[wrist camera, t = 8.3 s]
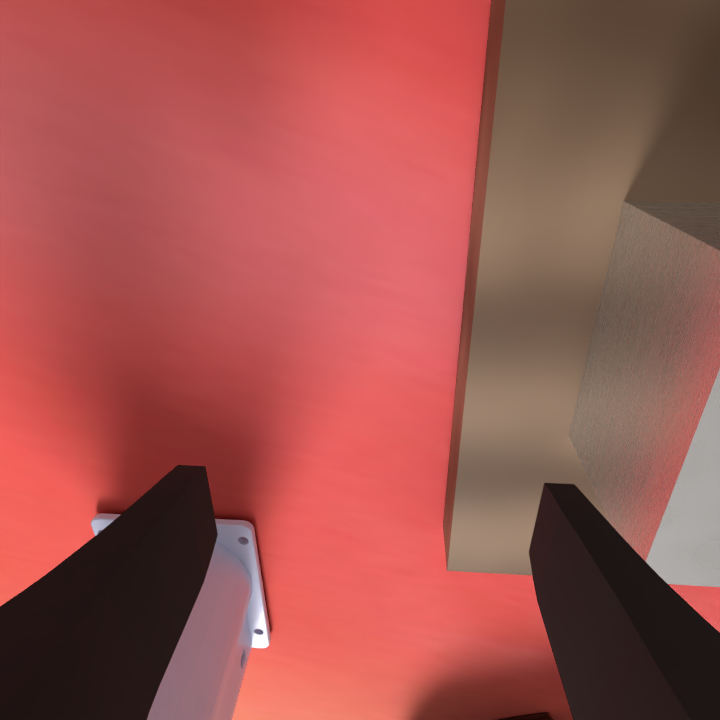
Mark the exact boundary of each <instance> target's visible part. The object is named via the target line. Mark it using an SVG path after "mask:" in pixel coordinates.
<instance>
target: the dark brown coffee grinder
mask: <svg viewBox="0 0 720 720" xmlns="http://www.w3.org/2000/svg"><path fill="white" fill-rule="evenodd" d="M502 720H553V719H552V717H551V716H550V715H549V713H543V714H535V715H527V716H519V717H513V718H507V719H502Z"/></svg>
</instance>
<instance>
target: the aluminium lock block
mask: <svg viewBox="0 0 720 720" xmlns="http://www.w3.org/2000/svg"><path fill="white" fill-rule="evenodd" d="M568 436H569V438H570V440H571V442H572V444H573V447H574V449H575V451H576V453H577V455H578V457H579V459H580V461H581V463H582V465H583V468H584V470H585V472H586V474H587V476H588V478H589V480H590V482H591V484H592V487H593V489H594V491H595V493H596V495H597V497H598V499H599V501H600V503H601V506H602V508H603V510H604V512H605V514H606V516H607V518H608V520H609V522H610V524H611V525H612V526H613V527H614V528H615V530H616V531H617V532H618V533H619V534H620V535H621V536H622V537H623V538H624V539H625V541H626V542H627V543H628V544H629V545H630V546H631V547H632V548H633V549H634V550H635V551H636V552H637V553H638V554H639V555H640V556H641V557H642V558H643V559H644V561H645V562H646V563H647V564H648V565H649V566H650V567H651V568H652V569H653V570H654V571H655V572H656V573H657V574H658V575H659V576H660V577H661V578H662V579H663V580H664V581H665V582H666V583H667V584H678V585H694V586H711V587H720V202H662V201H624V202H623V207H622V211H621V215H620V219H619V224H618V228H617V232H616V236H615V240H614V245H613V249H612V253H611V257H610V261H609V266H608V270H607V274H606V278H605V283H604V287H603V291H602V295H601V299H600V304H599V308H598V312H597V316H596V320H595V325H594V329H593V333H592V337H591V342H590V346H589V350H588V354H587V358H586V363H585V367H584V371H583V375H582V379H581V384H580V388H579V392H578V396H577V400H576V405H575V409H574V413H573V417H572V422H571V426H570V430H569V434H568Z"/></svg>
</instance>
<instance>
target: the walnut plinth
mask: <svg viewBox="0 0 720 720" xmlns="http://www.w3.org/2000/svg"><path fill="white" fill-rule="evenodd" d="M624 201H662V202H720V0H491V8H490V19H489V30H488V41H487V51H486V62H485V73H484V84H483V95H482V106H481V117H480V128H479V139H478V150H477V161H476V172H475V183H474V193H473V204H472V215H471V226H470V237H469V248H468V259H467V270H466V281H465V292H464V303H463V314H462V325H461V336H460V346H459V357H458V368H457V379H456V390H455V401H454V412H453V423H452V434H451V445H450V456H449V467H448V478H447V488H446V499H445V510H444V521H443V530H444V541H445V552H446V563H447V571H462V572H481V573H499V574H517V575H532V569H531V563H530V557H529V548H530V544H531V539H532V535H533V530H534V526H535V521H536V517H537V513H538V508H539V504H540V499H541V495H542V490H543V486H544V483H562V484H575V485H576V486H577V488H578V489H579V490H580V491H581V492H582V493H583V494H584V495H585V496H586V497H587V499H588V500H589V501H590V502H591V503H592V504H593V505H594V506H595V507H596V509H597V510H598V511H599V512H600V513H601V514H602V515H603V516H604V517H605V519H606V520H607V521H608V522H609V520H608V518H607V516H606V514H605V512H604V510H603V508H602V506H601V503H600V501H599V499H598V497H597V495H596V493H595V491H594V489H593V487H592V484H591V482H590V480H589V478H588V476H587V474H586V472H585V470H584V468H583V465H582V463H581V461H580V459H579V457H578V455H577V453H576V451H575V449H574V447H573V444H572V442H571V440H570V438H569V436H568V434H569V430H570V426H571V422H572V417H573V413H574V409H575V405H576V400H577V396H578V392H579V388H580V384H581V379H582V375H583V371H584V367H585V363H586V358H587V354H588V350H589V346H590V342H591V337H592V333H593V329H594V325H595V320H596V316H597V312H598V308H599V304H600V299H601V295H602V291H603V287H604V283H605V278H606V274H607V270H608V266H609V261H610V257H611V253H612V249H613V245H614V240H615V236H616V232H617V228H618V224H619V219H620V215H621V211H622V207H623V202H624ZM609 523H610V522H609Z"/></svg>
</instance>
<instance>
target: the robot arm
mask: <svg viewBox="0 0 720 720" xmlns="http://www.w3.org/2000/svg"><path fill="white" fill-rule="evenodd" d="M91 526H92V528H93V531H94V534H95V537H94V538H92V539H91V540H90V541H89V542H87V543H86V544H85V545H83V546H82V547H81V548H80V549H78V550H77V551H76V552H74V553H73V554H72V555H71V556H69V557H68V558H67V559H66V560H64V561H63V562H62V563H60V564H59V565H58V566H57V567H55V568H54V569H53V570H52V571H50V572H49V573H47V574H46V575H45V576H43V577H42V578H41V579H39V580H38V581H37V582H35V583H34V584H32V585H31V586H29V587H28V588H27V589H25V590H24V591H22V592H21V593H19V594H18V595H17V596H15V597H14V598H12V599H11V600H9V601H8V602H6V603H5V604H3V605H2V606H0V720H232V717H233V713H234V709H235V706H236V702H237V698H238V695H239V691H240V687H241V684H242V680H243V676H244V672H245V669H246V665H247V661H248V658H249V654H250V650H251V647H253V648H265V647H268V646H269V644H270V640H271V635H270V628H269V622H268V615H267V609H266V602H265V596H264V589H263V583H262V576H261V570H260V563H259V557H258V550H257V544H256V537H255V531H254V527H253V525H252V524H251V523H250V522H248V521H245V520H229V519H215V516H214V511H213V505H212V500H211V494H210V489H209V484H208V478H207V473H206V467H205V466H186V465H178V466H176V467H175V468H174V469H173V470H172V471H171V472H169V473H168V474H167V475H166V476H165V477H164V478H162V479H161V480H160V481H159V482H158V483H157V484H156V485H154V486H153V487H152V488H151V489H150V490H149V491H148V492H146V493H145V494H144V495H143V496H142V497H141V498H140V499H138V500H137V501H136V502H135V503H134V504H133V505H132V506H130V507H129V508H128V509H127V510H126V511H125V512H123V513H122V514H105V513H101V514H97V515H95V517H94V518H93V519H92V521H91ZM243 537H245V538H243ZM529 557H530V563H531V569H532V575H533V581H534V586H535V591H536V596H537V601H538V605H539V608H540V611H541V615H542V618H543V621H544V625H545V628H546V631H547V635H548V638H549V641H550V645H551V648H552V651H553V654H554V658H555V661H556V664H557V667H558V671H559V674H560V677H561V680H562V684H563V687H564V690H565V693H566V697H567V700H568V703H569V706H570V710H571V713H572V716H573V720H720V633H719V632H718V631H717V630H716V629H715V628H714V627H713V626H712V625H710V624H709V623H708V622H707V621H706V620H705V619H704V618H703V617H702V616H701V615H699V614H698V613H697V612H696V611H695V610H694V609H693V608H692V607H691V606H690V605H689V604H688V603H687V602H686V601H685V600H684V599H683V598H682V597H680V596H679V595H678V594H677V593H676V592H675V591H674V590H673V589H672V588H671V587H670V586H669V585H668V584H667V583H666V582H665V581H664V580H663V579H662V578H661V577H660V576H659V575H658V574H657V573H656V572H655V571H654V570H653V569H652V568H651V567H650V566H649V565H648V564H647V563H646V562H645V561H644V559H643V558H642V557H641V556H640V555H639V554H638V553H637V552H636V551H635V550H634V549H633V548H632V547H631V546H630V545H629V544H628V543H627V542H626V541H625V539H624V538H623V537H622V536H621V535H620V534H619V533H618V532H617V531H616V530H615V528H614V527H613V526H612V525H611V524H610V523H609V522H608V521H607V520H606V519H605V517H604V516H603V515H602V514H601V513H600V512H599V511H598V510H597V509H596V507H595V506H594V505H593V504H592V503H591V502H590V501H589V500H588V499H587V497H586V496H585V495H584V494H583V493H582V492H581V491H580V490H579V489H578V488H577V486H576V485H575V484H562V483H544V486H543V490H542V495H541V499H540V504H539V508H538V513H537V517H536V521H535V526H534V530H533V535H532V539H531V544H530V548H529Z"/></svg>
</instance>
